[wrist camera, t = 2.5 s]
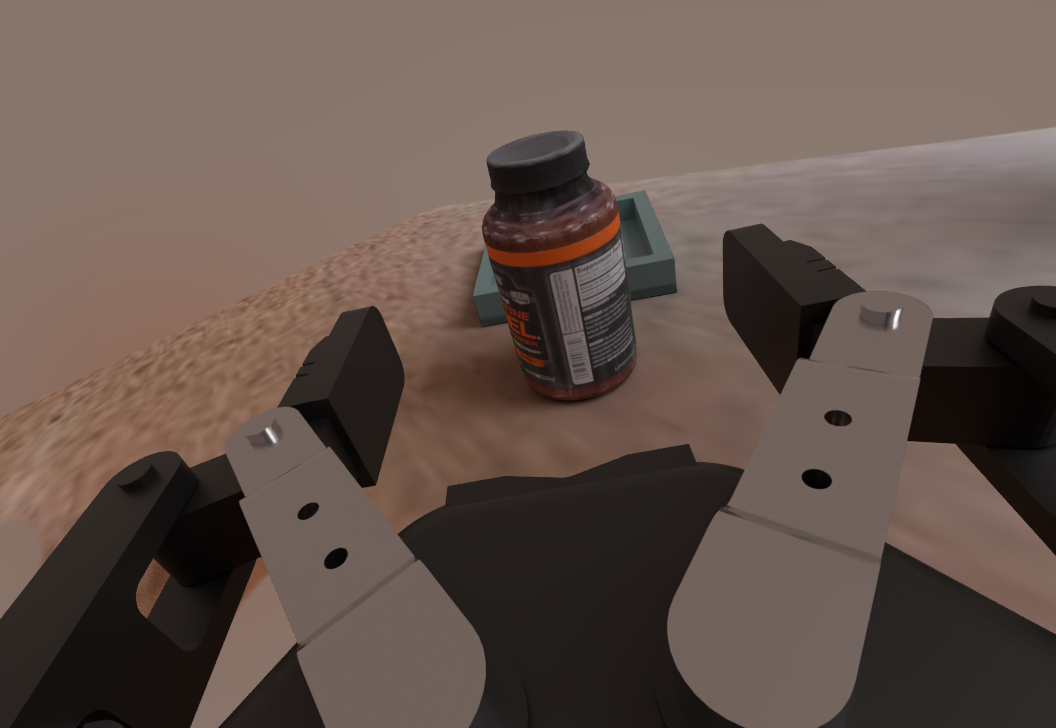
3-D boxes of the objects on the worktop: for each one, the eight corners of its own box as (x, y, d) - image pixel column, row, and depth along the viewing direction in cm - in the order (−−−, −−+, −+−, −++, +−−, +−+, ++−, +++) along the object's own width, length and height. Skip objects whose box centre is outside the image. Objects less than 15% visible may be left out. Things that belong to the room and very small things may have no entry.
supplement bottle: (505, 369, 29) (439, 160, 23) (594, 323, 31) (556, 116, 24) (563, 425, 24) (500, 181, 18) (664, 367, 26) (639, 126, 20)
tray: (647, 218, 41) (644, 190, 40) (676, 292, 31) (674, 258, 30) (498, 248, 43) (491, 222, 42) (482, 326, 33) (472, 296, 32)
